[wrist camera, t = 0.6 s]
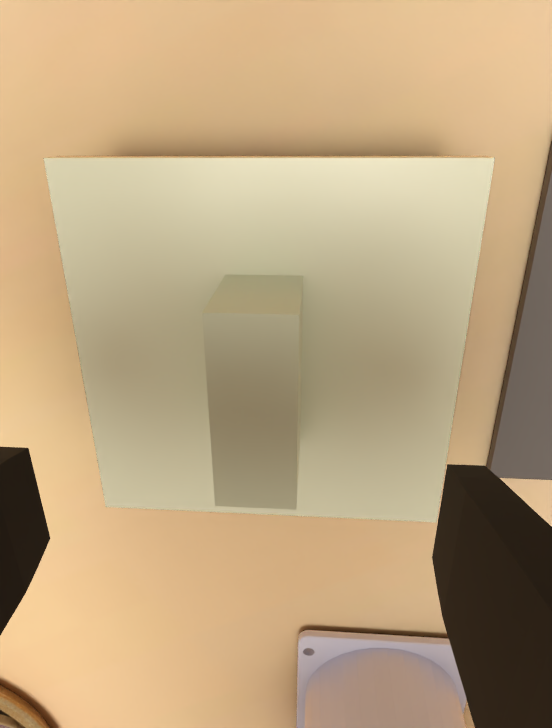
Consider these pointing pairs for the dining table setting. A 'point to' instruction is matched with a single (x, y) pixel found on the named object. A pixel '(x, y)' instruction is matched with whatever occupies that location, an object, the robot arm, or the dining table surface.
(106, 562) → the dining table surface
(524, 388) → the mat
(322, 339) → the lid
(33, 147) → the dining table surface
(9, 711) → the toy sandwich meal
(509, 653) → the robot arm
